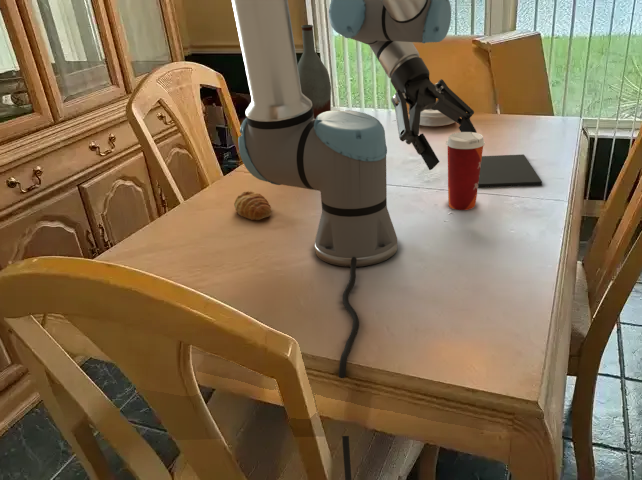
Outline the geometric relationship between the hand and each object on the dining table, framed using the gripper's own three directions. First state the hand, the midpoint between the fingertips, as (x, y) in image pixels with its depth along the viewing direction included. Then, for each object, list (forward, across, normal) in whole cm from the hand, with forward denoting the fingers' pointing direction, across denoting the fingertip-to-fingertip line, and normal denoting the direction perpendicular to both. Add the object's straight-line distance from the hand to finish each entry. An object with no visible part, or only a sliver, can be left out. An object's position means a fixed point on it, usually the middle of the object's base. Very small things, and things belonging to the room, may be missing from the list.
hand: (457, 157), depth 126 cm
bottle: (-27, -1, -41) cm, 49 cm away
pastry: (-13, +33, -26) cm, 44 cm away
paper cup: (+8, 0, -5) cm, 10 cm away
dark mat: (+3, -22, -10) cm, 25 cm away
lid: (-26, -44, -39) cm, 64 cm away
